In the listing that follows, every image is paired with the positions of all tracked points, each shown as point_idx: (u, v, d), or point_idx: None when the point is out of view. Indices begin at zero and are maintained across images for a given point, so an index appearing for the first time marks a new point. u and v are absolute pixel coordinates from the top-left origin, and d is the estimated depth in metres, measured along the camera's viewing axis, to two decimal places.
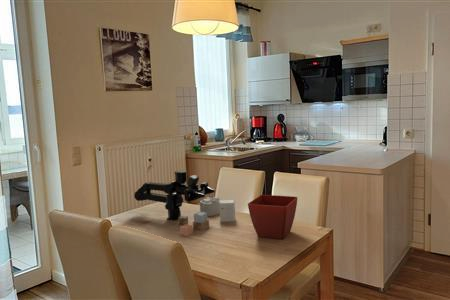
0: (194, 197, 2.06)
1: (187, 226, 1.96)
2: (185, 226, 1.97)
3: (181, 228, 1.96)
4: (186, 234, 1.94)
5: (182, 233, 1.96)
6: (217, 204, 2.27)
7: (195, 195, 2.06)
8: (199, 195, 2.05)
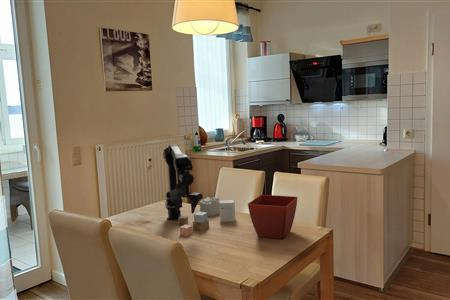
0: (176, 199, 1.99)
1: (187, 226, 1.96)
2: (185, 226, 1.97)
3: (181, 228, 1.96)
4: (186, 234, 1.94)
5: (182, 233, 1.96)
6: (217, 204, 2.27)
7: None
8: None
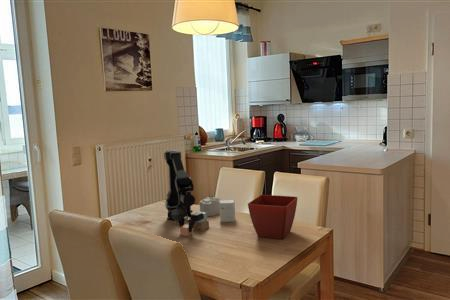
0: (180, 219, 1.99)
1: (187, 226, 1.96)
2: (185, 226, 1.97)
3: (181, 228, 1.96)
4: (186, 234, 1.94)
5: (182, 233, 1.96)
6: (217, 204, 2.27)
7: None
8: None
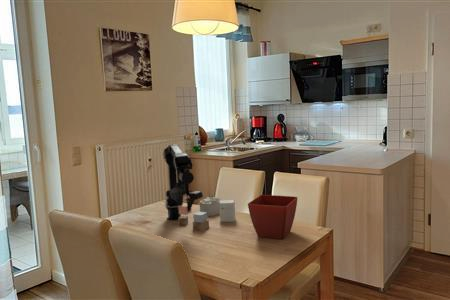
0: None
1: (186, 205, 1.95)
2: (184, 205, 1.95)
3: (180, 207, 1.94)
4: (185, 213, 1.93)
5: (181, 212, 1.94)
6: (217, 204, 2.27)
7: None
8: None
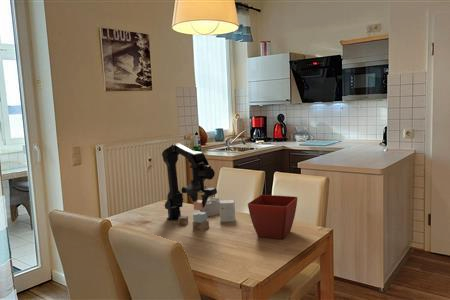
0: (194, 195, 2.06)
1: (200, 201, 2.02)
2: (198, 201, 2.03)
3: (195, 203, 2.02)
4: (200, 208, 2.00)
5: (196, 208, 2.02)
6: (217, 204, 2.27)
7: None
8: None
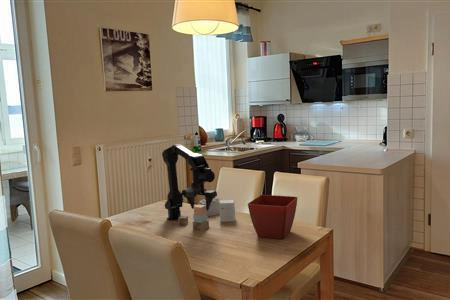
0: (191, 197, 2.07)
1: (201, 206, 2.03)
2: (199, 206, 2.03)
3: (195, 207, 2.02)
4: (200, 213, 2.01)
5: (196, 212, 2.02)
6: (217, 204, 2.27)
7: None
8: None
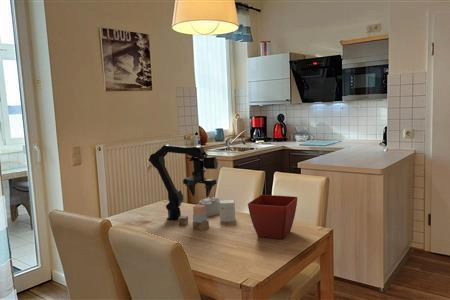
0: None
1: (200, 206, 2.03)
2: (198, 206, 2.03)
3: (194, 208, 2.02)
4: (199, 213, 2.01)
5: (195, 212, 2.02)
6: (217, 204, 2.27)
7: None
8: None
